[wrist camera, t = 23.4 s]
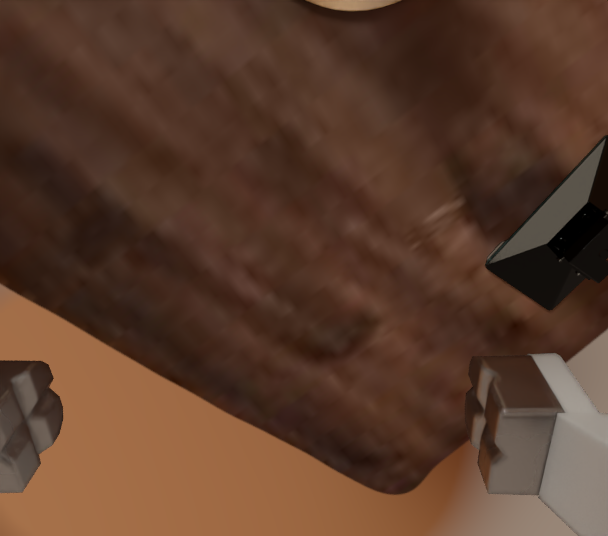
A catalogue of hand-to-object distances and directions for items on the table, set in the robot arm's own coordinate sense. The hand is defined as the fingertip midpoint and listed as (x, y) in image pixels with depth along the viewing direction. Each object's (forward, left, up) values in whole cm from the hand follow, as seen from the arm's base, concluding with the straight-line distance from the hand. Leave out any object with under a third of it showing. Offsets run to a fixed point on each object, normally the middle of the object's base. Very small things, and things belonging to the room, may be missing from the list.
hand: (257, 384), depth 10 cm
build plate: (+22, +1, -29) cm, 37 cm away
